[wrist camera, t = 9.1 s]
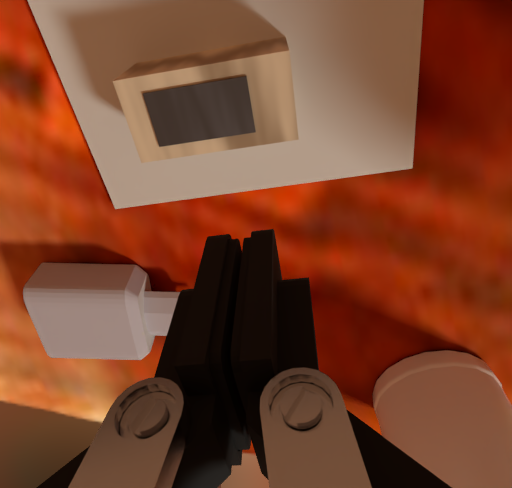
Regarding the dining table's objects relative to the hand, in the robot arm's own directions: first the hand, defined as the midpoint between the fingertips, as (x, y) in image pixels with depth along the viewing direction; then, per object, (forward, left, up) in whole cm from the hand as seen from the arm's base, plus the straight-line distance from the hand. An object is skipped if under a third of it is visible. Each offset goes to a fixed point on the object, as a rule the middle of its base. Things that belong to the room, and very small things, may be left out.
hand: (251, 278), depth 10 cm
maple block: (-2, 0, -18) cm, 18 cm away
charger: (+16, +18, -22) cm, 32 cm away
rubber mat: (+1, 0, -21) cm, 21 cm away
